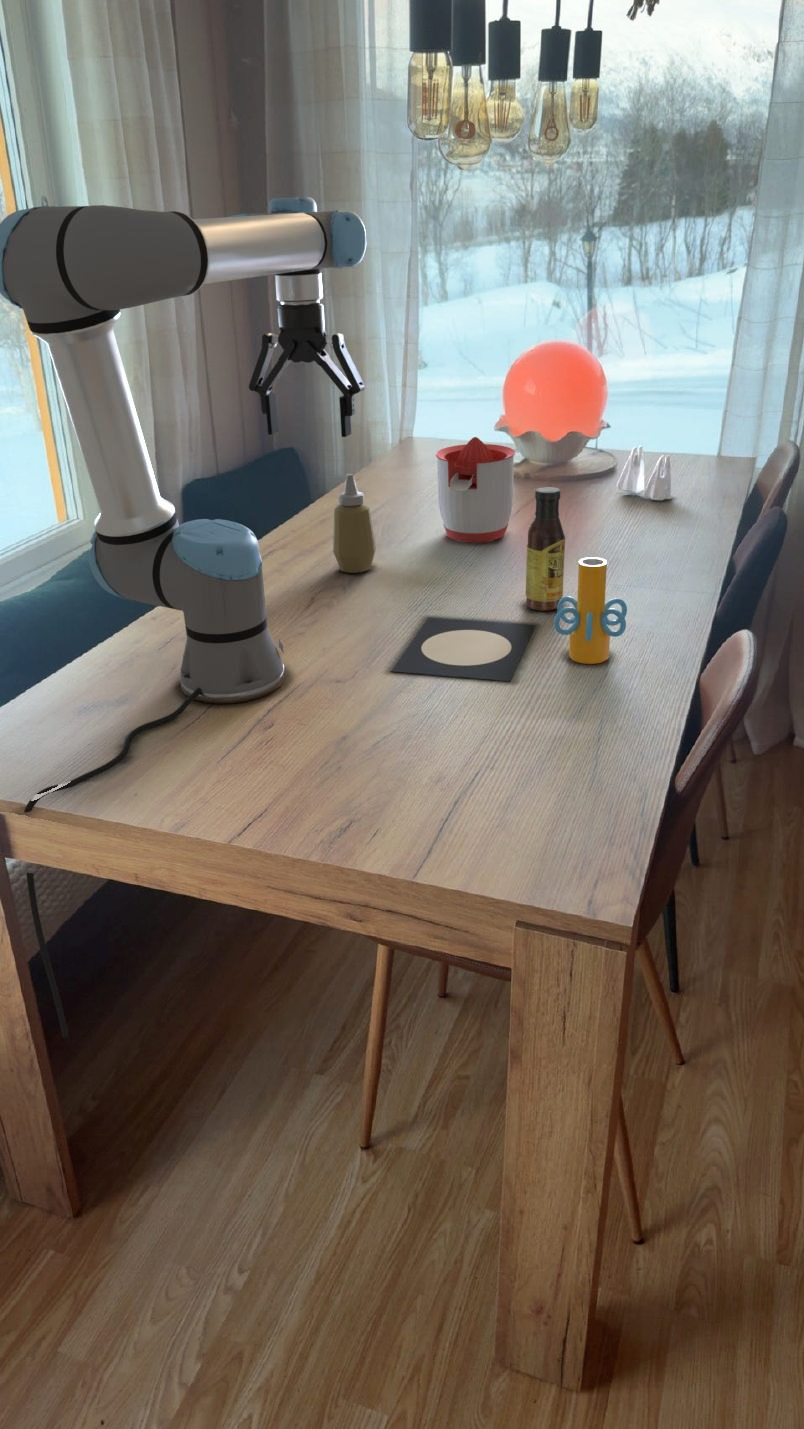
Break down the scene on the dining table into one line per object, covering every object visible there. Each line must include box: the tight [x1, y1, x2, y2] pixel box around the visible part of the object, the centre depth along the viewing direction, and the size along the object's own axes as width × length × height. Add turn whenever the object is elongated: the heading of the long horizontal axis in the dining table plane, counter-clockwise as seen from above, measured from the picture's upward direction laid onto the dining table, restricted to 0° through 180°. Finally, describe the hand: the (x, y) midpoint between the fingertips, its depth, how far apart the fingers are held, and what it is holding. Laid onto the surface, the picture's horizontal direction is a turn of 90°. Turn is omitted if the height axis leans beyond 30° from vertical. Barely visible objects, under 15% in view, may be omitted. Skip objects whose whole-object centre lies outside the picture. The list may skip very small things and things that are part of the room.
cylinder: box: [553, 556, 628, 665], centre depth 156 cm, size 12×10×15 cm
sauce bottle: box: [525, 486, 566, 612], centre depth 175 cm, size 7×6×20 cm
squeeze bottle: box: [332, 473, 377, 574], centre depth 196 cm, size 8×8×18 cm
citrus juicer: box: [435, 436, 516, 544], centre depth 210 cm, size 16×17×20 cm
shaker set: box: [616, 445, 672, 501], centre depth 234 cm, size 12×4×11 cm, turn 50°
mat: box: [390, 617, 536, 683], centre depth 164 cm, size 22×18×1 cm
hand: (309, 434), depth 182 cm, fingers open, 13 cm apart
